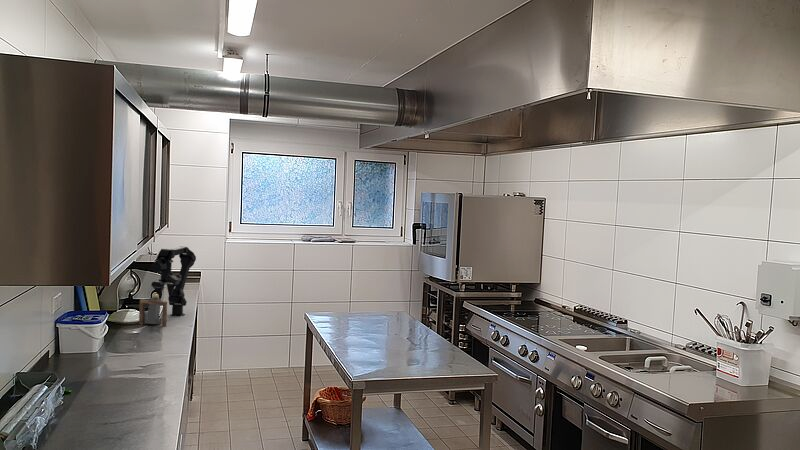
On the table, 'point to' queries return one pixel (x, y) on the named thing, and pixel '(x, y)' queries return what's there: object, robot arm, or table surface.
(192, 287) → the table surface
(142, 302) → the door frame
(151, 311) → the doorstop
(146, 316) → the door
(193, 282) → the table surface
